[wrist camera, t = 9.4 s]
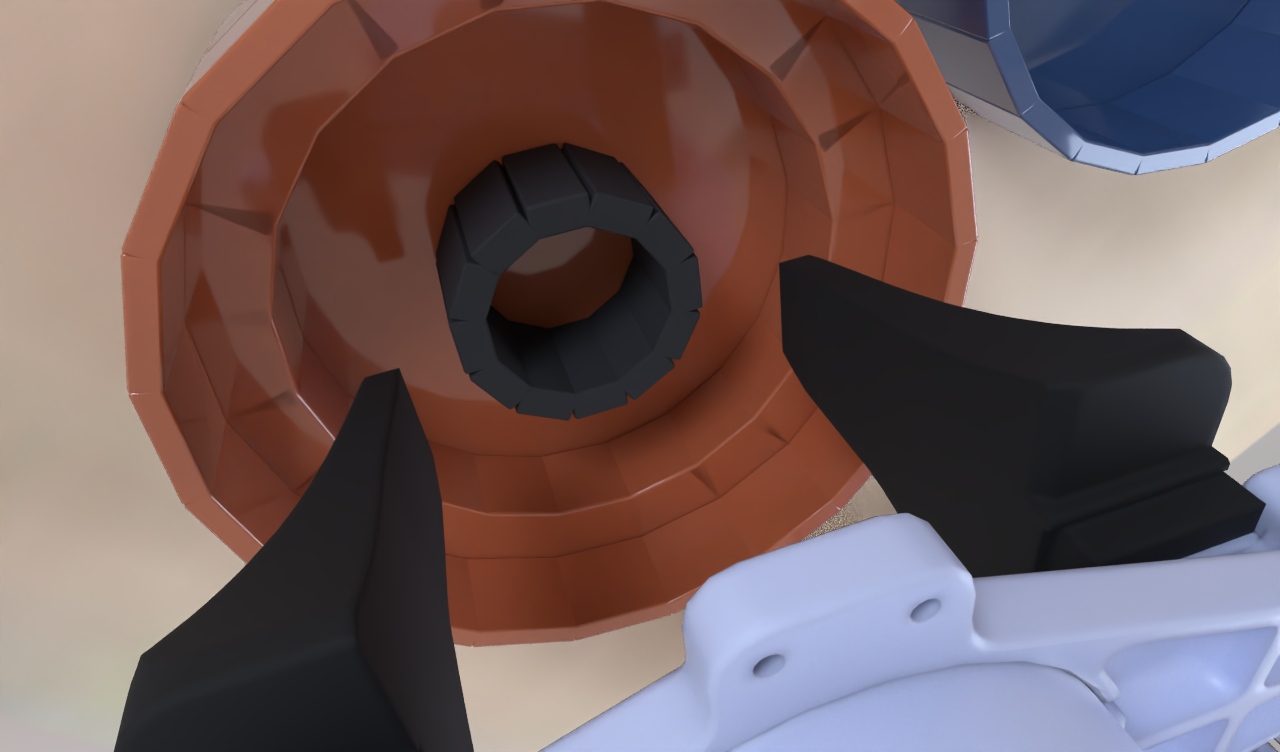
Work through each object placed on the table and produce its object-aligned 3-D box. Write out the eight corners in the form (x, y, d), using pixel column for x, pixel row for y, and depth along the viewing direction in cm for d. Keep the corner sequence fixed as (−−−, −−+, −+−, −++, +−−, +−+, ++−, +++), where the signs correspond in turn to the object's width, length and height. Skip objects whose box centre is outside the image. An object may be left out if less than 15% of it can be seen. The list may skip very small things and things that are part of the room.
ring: (700, 251, 19) (746, 309, 17) (544, 386, 20) (569, 457, 18) (562, 92, 16) (597, 138, 14) (387, 258, 17) (394, 325, 15)
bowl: (940, 240, 22) (1070, 335, 18) (529, 574, 25) (566, 721, 21) (587, -366, 13) (693, -438, 9) (-2, 256, 16) (-116, 409, 12)
